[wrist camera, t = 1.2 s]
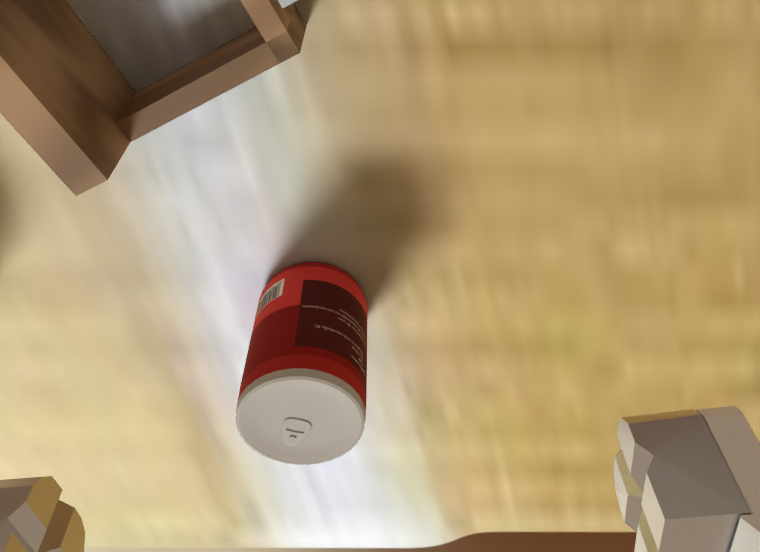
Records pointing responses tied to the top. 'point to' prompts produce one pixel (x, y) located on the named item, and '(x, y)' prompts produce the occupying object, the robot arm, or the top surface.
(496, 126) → the top surface
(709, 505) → the robot arm
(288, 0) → the cabinet block
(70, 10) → the brown wooden frame
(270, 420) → the canned food
